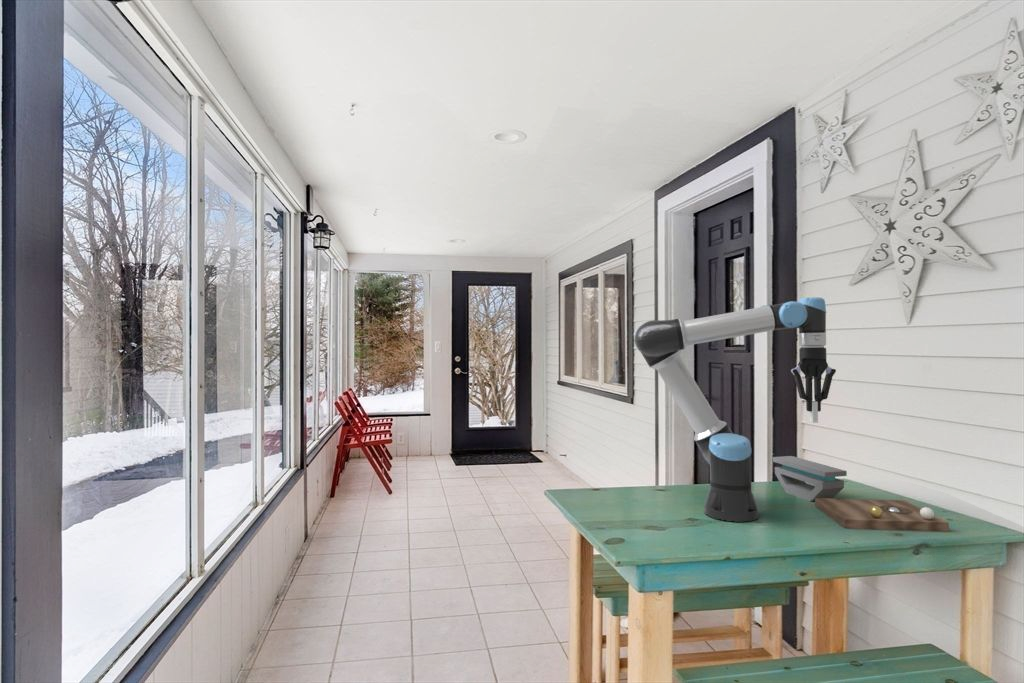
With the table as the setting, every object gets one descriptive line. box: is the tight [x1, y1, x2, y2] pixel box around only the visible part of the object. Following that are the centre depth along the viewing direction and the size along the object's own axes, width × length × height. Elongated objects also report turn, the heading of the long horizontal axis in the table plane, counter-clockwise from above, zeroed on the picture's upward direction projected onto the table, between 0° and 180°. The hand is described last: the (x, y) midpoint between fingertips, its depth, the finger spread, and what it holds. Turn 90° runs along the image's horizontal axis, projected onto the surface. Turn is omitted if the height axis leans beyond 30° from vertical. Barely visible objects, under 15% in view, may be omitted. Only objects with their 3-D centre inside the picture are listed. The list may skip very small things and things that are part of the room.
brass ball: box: [869, 506, 883, 518], centre depth 159 cm, size 3×3×3 cm
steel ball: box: [888, 507, 900, 512], centre depth 166 cm, size 3×3×3 cm
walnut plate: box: [814, 497, 950, 533], centre depth 167 cm, size 26×22×2 cm
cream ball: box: [920, 506, 935, 519], centre depth 158 cm, size 3×3×3 cm
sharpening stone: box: [772, 455, 848, 502], centre depth 192 cm, size 25×8×11 cm, turn 12°
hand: (813, 421), depth 180 cm, fingers closed
